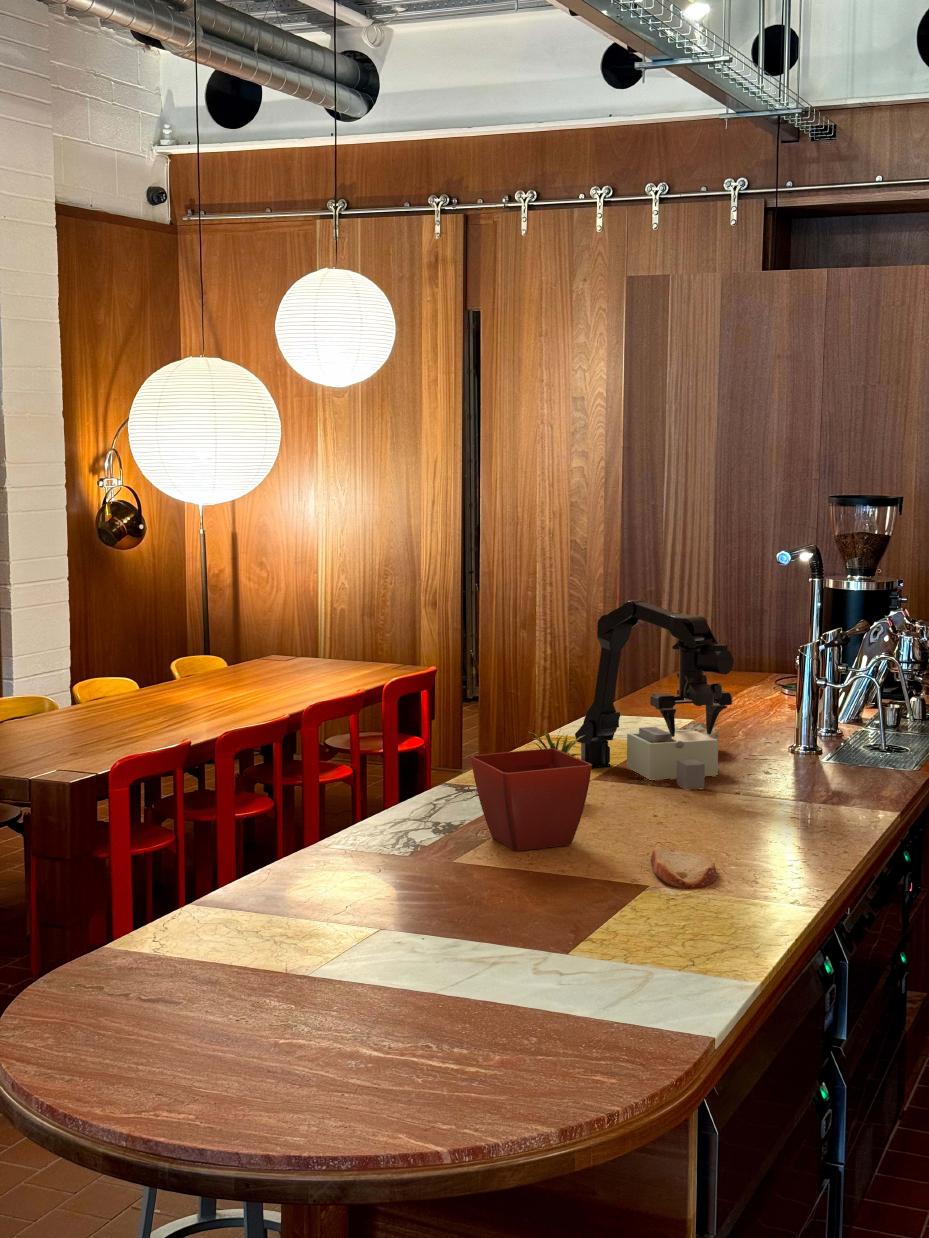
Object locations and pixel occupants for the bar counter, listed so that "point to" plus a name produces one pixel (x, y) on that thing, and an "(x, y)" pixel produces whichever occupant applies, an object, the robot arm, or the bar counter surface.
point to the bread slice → (682, 868)
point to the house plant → (552, 745)
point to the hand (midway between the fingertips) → (690, 735)
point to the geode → (701, 729)
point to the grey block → (690, 774)
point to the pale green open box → (669, 756)
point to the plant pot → (532, 796)
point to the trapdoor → (669, 735)
